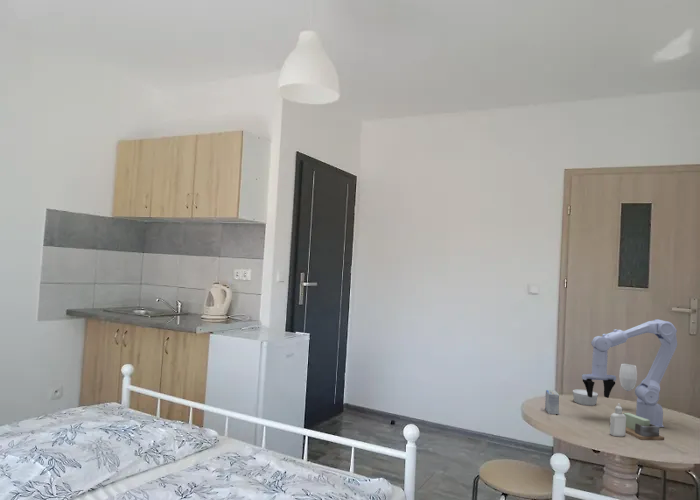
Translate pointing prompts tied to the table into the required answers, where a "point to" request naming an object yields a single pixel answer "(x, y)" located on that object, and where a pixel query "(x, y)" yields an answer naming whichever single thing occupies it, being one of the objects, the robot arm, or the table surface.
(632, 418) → the rail plank
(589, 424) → the table surface
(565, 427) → the table surface
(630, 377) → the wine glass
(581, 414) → the table surface
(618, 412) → the eye dropper bottle
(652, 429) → the slotted holder
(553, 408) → the medicine box
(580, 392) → the ramekin
